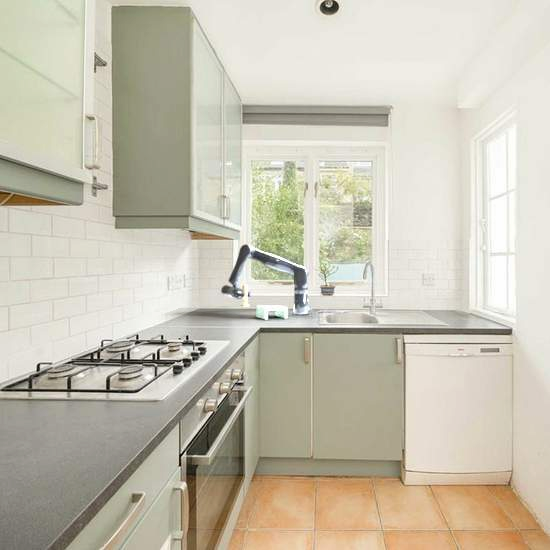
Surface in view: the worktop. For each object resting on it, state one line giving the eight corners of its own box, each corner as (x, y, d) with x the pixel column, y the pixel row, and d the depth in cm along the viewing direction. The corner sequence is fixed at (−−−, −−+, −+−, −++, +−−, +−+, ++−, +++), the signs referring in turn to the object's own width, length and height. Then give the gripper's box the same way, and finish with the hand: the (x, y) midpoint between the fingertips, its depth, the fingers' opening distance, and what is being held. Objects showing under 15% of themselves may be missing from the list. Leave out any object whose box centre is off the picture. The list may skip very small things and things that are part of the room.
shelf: (277, 315, 309) (278, 305, 309) (287, 318, 297) (287, 307, 297) (256, 316, 302) (256, 306, 302) (264, 319, 290) (265, 308, 290)
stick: (247, 305, 307) (247, 284, 307) (250, 306, 303) (250, 285, 302) (239, 306, 305) (239, 284, 304) (242, 306, 300) (242, 285, 300)
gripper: (227, 287, 313) (236, 289, 298) (246, 287, 319) (256, 289, 304) (227, 299, 314) (236, 301, 298) (246, 298, 320) (256, 300, 304)
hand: (246, 295), depth 301 cm, fingers closed on stick, 3 cm apart
